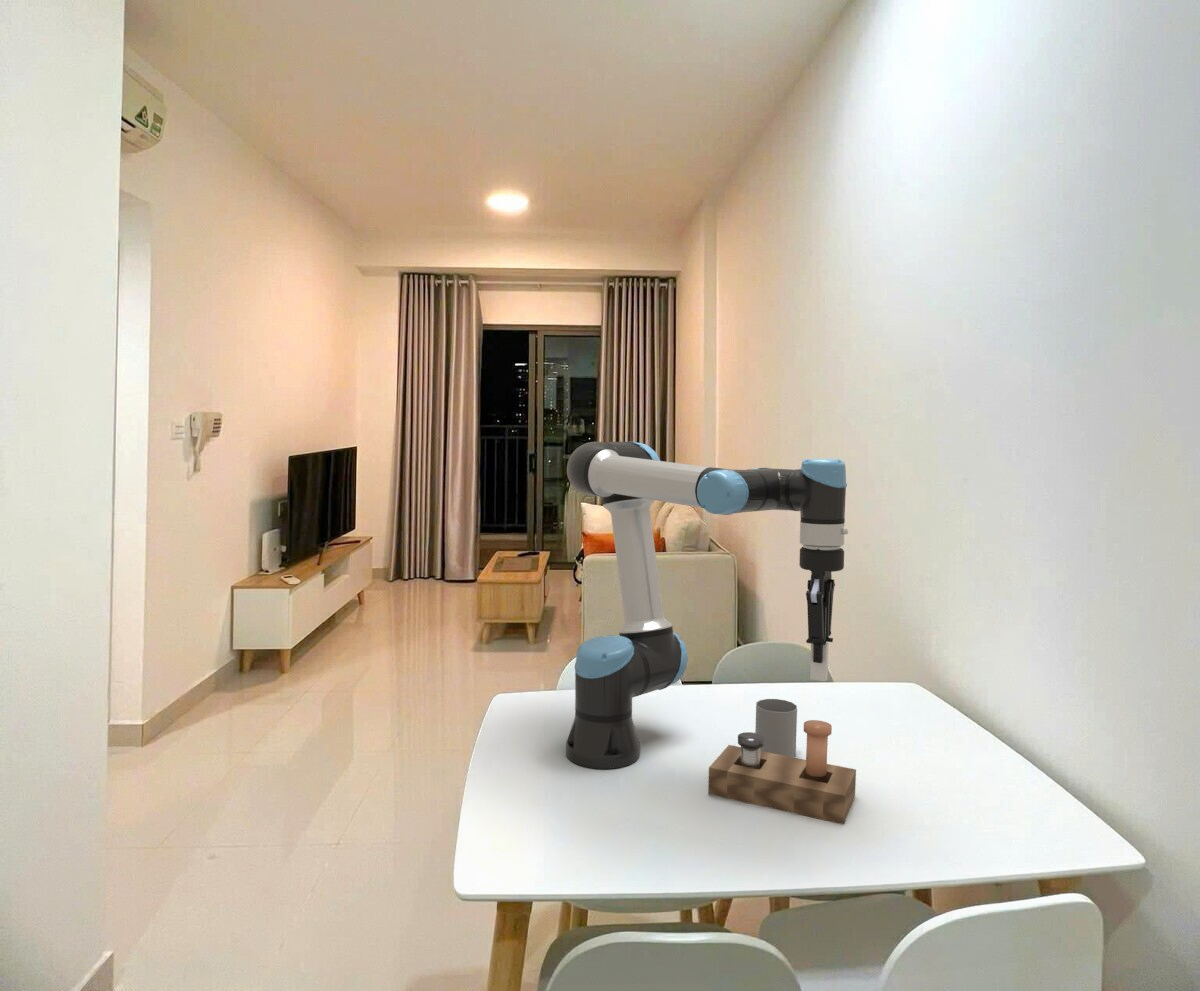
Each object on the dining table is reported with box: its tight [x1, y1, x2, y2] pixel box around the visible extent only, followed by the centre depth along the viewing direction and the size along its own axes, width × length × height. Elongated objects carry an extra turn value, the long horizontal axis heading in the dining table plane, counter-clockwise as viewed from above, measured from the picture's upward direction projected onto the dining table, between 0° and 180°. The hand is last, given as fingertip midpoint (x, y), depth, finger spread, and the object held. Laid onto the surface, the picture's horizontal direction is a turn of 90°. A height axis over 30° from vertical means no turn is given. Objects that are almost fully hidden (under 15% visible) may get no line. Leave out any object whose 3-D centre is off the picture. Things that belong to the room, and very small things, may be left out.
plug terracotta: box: [803, 719, 833, 777], centre depth 140 cm, size 5×5×9 cm
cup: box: [754, 698, 798, 758], centre depth 163 cm, size 8×8×10 cm
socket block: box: [707, 744, 857, 825], centre depth 143 cm, size 24×12×5 cm, turn 63°
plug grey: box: [737, 731, 764, 770], centre depth 146 cm, size 5×5×9 cm
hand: (818, 679), depth 139 cm, fingers closed
